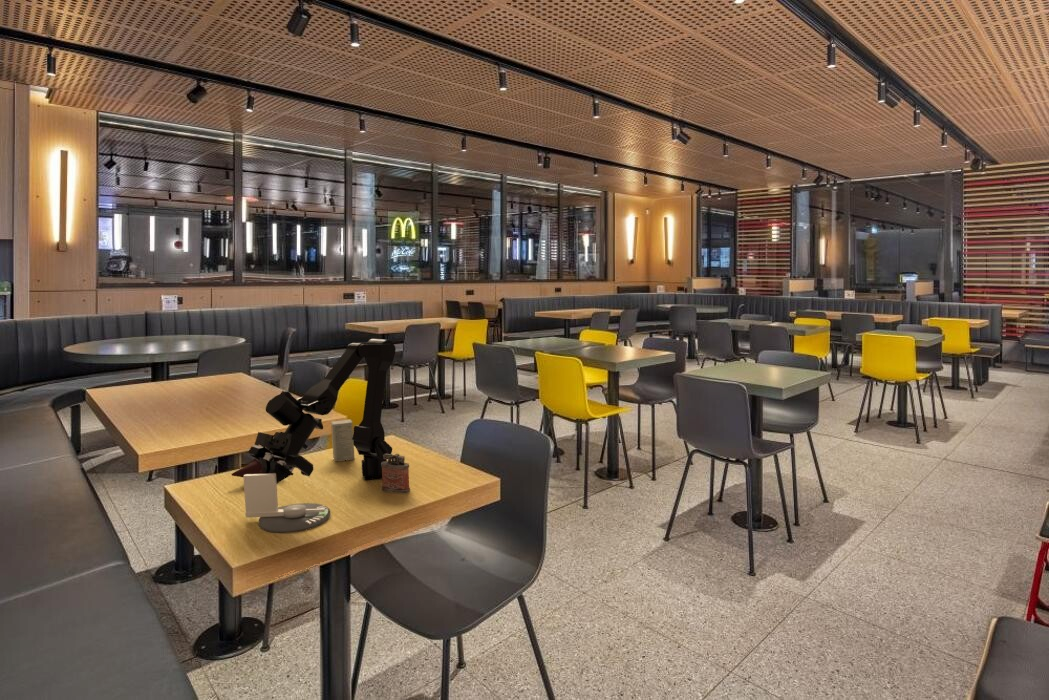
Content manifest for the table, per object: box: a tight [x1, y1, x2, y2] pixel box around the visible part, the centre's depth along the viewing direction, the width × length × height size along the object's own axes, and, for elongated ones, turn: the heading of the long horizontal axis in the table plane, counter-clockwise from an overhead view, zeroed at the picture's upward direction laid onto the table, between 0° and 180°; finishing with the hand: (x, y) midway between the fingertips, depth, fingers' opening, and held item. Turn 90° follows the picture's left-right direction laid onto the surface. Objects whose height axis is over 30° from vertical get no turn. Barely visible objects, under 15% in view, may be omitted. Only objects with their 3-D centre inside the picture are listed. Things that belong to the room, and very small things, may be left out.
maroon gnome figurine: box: [231, 458, 284, 478], centre depth 173 cm, size 7×7×15 cm
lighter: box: [381, 453, 411, 494], centre depth 165 cm, size 8×3×10 cm, turn 71°
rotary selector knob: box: [242, 473, 325, 519], centre depth 146 cm, size 18×5×10 cm, turn 95°
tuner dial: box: [258, 502, 331, 534], centre depth 147 cm, size 16×16×1 cm
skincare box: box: [330, 418, 356, 462], centre depth 193 cm, size 6×4×12 cm
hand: (260, 491), depth 146 cm, fingers closed
